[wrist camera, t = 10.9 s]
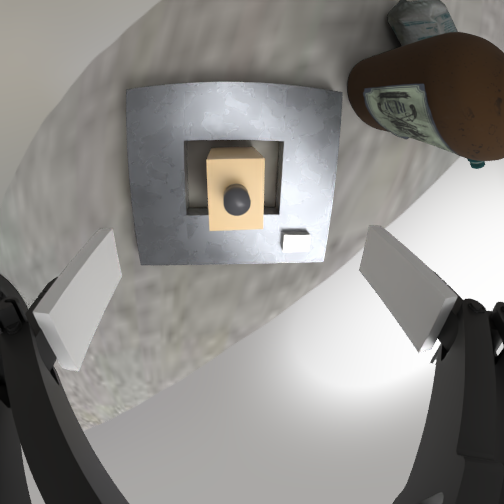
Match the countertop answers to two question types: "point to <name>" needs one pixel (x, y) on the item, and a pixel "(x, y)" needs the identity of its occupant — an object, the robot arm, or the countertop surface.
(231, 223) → the plug
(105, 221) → the countertop surface
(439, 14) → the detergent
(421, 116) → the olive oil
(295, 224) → the socket plate
